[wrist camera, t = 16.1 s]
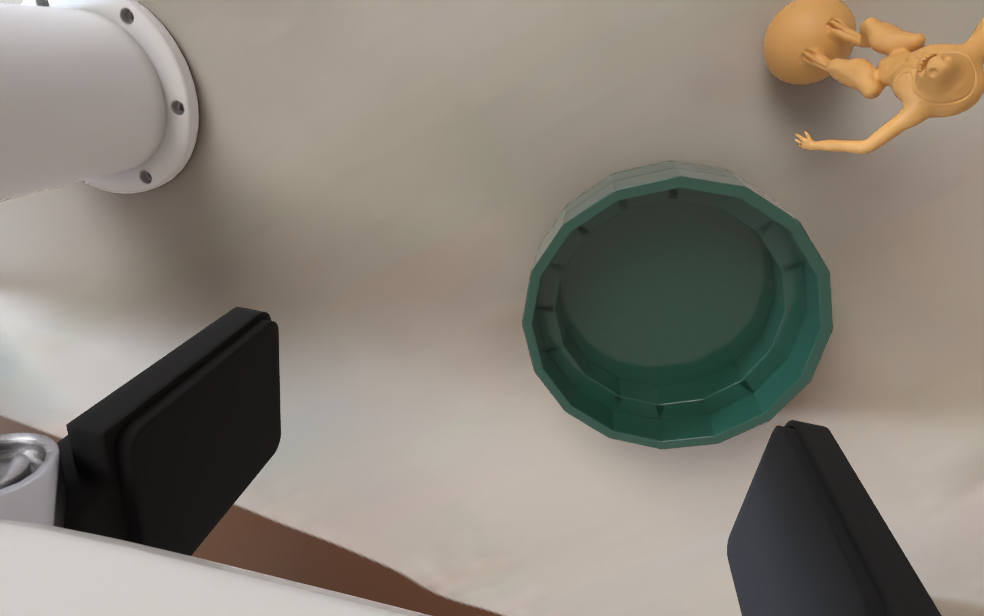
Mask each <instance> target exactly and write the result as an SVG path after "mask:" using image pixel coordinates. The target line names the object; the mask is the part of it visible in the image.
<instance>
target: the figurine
mask: <svg viewBox="0 0 984 616" xmlns="http://www.w3.org/2000/svg"><path fill="white" fill-rule="evenodd" d="M924 44H925V36H924V35H923V34H920V33H911V32H905V31H903V30H901V29H899V28H898V27H896V26H894V25H892V24H890V23H886V22H882V21H880V20H878V19H876V18H874V17H870V18H868V19H866V20H864V21H863V22H862V24H861V26H860V33H858V32H856V24H855V20H854V17H853V14H852V13H851V11H850V9H849V8H848V7H847V6H846V5H845V4H844V3H843V2H842V1H840V0H795V1H793V2H791V3H790V4H788V5H787V6H785V7H784V8H783V9H782V10H781V11H780V12H779V13H778V14H777V15H776V16H775V17H774V18H773V20H772V21H771V23H770V24H769V26H768V28H767V31H766V33H765V36H764V41H763V57H764V60H765V63H766V65H767V67H768V69H769V70H770V72H771V73H772V74H773V75H774V76H775V77H777V78H778V79H780V80H781V81H783V82H786V83H789V84H794V85H806V84H811V83H815V82H818V81H821V80H823V79H825V78H827V77H828V76H830V75H831V77H832V78H833V79H835V80H838V81H839V82H840V83H841V84H843V85H845V86H847V87H850V88H853V89H855V90H857V91H858V92H860V93H861V94H862V95H863V96H864V97H866V98H869V99H873V98H876V97H877V96H879V95H880V93H881V92H882V91H883V89H884V88H885V86H888V85H889V86H890V87H891V88H892V90H893V92H894V94H895V96H896V97H897V98H898V99H899V100H900V101H901V102H902V103H903V107H902V109H901V111H900V112H899V113H898V114H897V115H896V116H895V117H893V118H892V119H891V120H889V121H888V122H887V123H885V124H884V125H883V126H882V127H880V128H879V129H878V130H877V131H875V132H874V133H873V134H872V135H871V136H870V137H869V138H867V139H866V140H863V141H860V140H849V141H845V140H823V141H813V140H812V138H811V136H810V135H809V134H808V133H807V132H806V131H804V133H805V135H806V138H804V137H803V136H800V135H799V134H797V133H796V136H797V137H798V138H800V139H801V141H800V140H797V139H795V141H796V142H797V143H799V144H797V145H798V146H799V147H801V148H803V149H807V150H824V151H837V152H851V153H856V154H866V153H869V152H872V151H874V150H875V149H877V148H879V147H880V146H882V145H884V144H885V143H887V142H888V141H890V140H891V139H893V138H894V137H896V136H897V135H899V134H900V133H901V132H903V131H904V130H906V129H908V128H911V127H913V126H915V125H918V124H919V123H921V122H923V121H924V120H926V119H928V118H932V117H948V116H953V115H956V114H959V113H961V112H964V111H966V110H967V109H969V108H970V107H972V106H973V105H974V104H976V103H977V101H978V100H979V99H980V97H981V96H982V94H983V92H984V71H983V62H984V17H983V18H982V20H981V21H980V23H979V24H978V26H977V27H976V29H975V30H974V32H973V33H972V35H971V37H970V38H969V39H968V40H967V41H966V42H965V43H963V44H932V45H928V46H925V47H923V46H924ZM854 45H856V46H860V47H864V48H866V47H871V48H872V49H873V50H875V51H876V52H878V53H881V54H886V55H889V56H887V57H885V58H883V59H882V60H881V61H880V62H879V65H878V68H875V67H874V66H873V65H872V64H871V63H869V62H868V61H867V60H864V59H861V58H855V59H848V60H846V59H847V58H848V56H849V55H850V53H851V51H852V48H853V46H854ZM800 144H801V145H800Z"/></svg>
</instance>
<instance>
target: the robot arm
mask: <svg viewBox="0 0 984 616" xmlns="http://www.w3.org/2000/svg"><path fill="white" fill-rule="evenodd" d="M198 126H199V112H198V100H197V95H196V90H195V85H194V81H193V79H192V76H191V73H190V70H189V68H188V65H187V62H186V60H185V59H184V57H183V55H182V53H181V51H180V49H179V47H178V45H177V44H176V42H175V41H174V39H173V38H172V37H171V35H170V34H169V33H168V31H167V30H166V28H165V27H164V26H163V24H162V23H161V22H160V21H159V20H158V19H157V18H156V17H155V16H154V15H153V14H152V13H151V12H150V11H149V10H148V9H147V8H145V7H144V6H142V5H141V4H140V3H138V2H137V1H136V0H24V1H23V2H22V4H21V5H18V4H6V3H0V201H4V200H8V199H12V198H16V197H20V196H24V195H28V194H32V193H36V192H40V191H44V190H48V189H52V188H56V187H60V186H64V185H68V184H72V183H76V182H81V181H82V182H84V183H87V184H89V185H91V186H93V187H95V188H98V189H101V190H105V191H108V192H112V193H123V194H131V193H139V192H144V191H148V190H151V189H154V188H157V187H160V186H161V185H163V184H165V183H167V182H169V181H171V180H172V179H173V178H174V177H175V176H176V175H177V174H178V173H179V172H180V171H182V169H183V168H184V166H185V165H186V163H187V162H188V160H189V158H190V157H191V154H192V151H193V149H194V146H195V143H196V139H197V133H198ZM66 426H67V431H68V435H67V436H66V437H65V438H63V439H62V440H60V441H59V442H58V443H56V442H54V441H53V440H52V439H51V438H49V437H46V436H43V435H40V434H35V433H13V434H3V435H0V616H430V615H426V614H422V613H418V612H415V611H410V610H406V609H403V608H398V607H394V606H391V605H387V604H383V603H379V602H375V601H370V600H367V599H362V598H359V597H354V596H351V595H347V594H343V593H339V592H335V591H331V590H326V589H322V588H318V587H314V586H310V585H306V584H302V583H298V582H294V581H290V580H286V579H281V578H277V577H274V576H270V575H265V574H261V573H258V572H253V571H249V570H245V569H241V568H237V567H233V566H229V565H225V564H221V563H217V562H213V561H209V560H205V559H200V558H196V557H192V556H191V555H192V554H193V553H194V551H195V550H196V549H197V548H198V547H199V545H200V544H201V543H202V542H203V540H204V539H205V538H206V537H207V536H208V534H209V533H210V532H211V531H212V529H213V528H214V527H215V526H216V525H217V523H218V522H219V521H220V519H221V518H222V517H223V516H224V515H225V513H226V512H227V511H228V510H229V509H230V507H231V506H232V505H233V504H234V502H235V501H236V500H237V499H238V498H239V496H240V495H241V494H242V493H243V491H244V490H245V489H246V488H247V487H248V485H249V484H250V483H251V482H252V480H253V479H254V478H255V477H256V475H257V474H258V473H259V472H260V471H261V469H262V468H263V467H264V466H265V464H266V463H267V462H268V461H269V460H270V458H271V457H272V456H273V455H274V453H275V452H276V450H277V448H278V445H279V442H280V438H281V420H280V376H279V331H278V325H277V323H276V322H274V321H271V318H270V315H269V314H268V313H267V312H262V311H257V310H253V309H248V308H243V307H236V308H233V309H232V310H231V311H229V312H228V313H226V314H225V315H223V316H222V317H220V318H219V319H218V320H216V321H215V322H213V323H212V324H210V325H209V326H208V327H206V328H205V329H203V330H202V331H200V332H199V333H197V334H196V335H195V336H193V337H192V338H190V339H189V340H187V341H186V342H185V343H183V344H182V345H180V346H179V347H177V348H176V349H174V350H173V351H172V352H170V353H169V354H167V355H166V356H164V357H163V358H162V359H160V360H159V361H157V362H156V363H154V364H153V365H151V366H150V367H149V368H147V369H146V370H144V371H143V372H141V373H140V374H139V375H137V376H136V377H134V378H133V379H131V380H130V381H128V382H127V383H126V384H124V385H123V386H121V387H120V388H118V389H117V390H116V391H114V392H113V393H111V394H110V395H108V396H107V397H106V398H104V399H103V400H101V401H100V402H98V403H97V404H95V405H94V406H93V407H91V408H90V409H88V410H87V411H85V412H84V413H83V414H81V415H80V416H78V417H77V418H75V419H74V420H72V421H71V422H70V423H68V424H67V425H66ZM727 556H728V561H729V565H730V569H731V573H732V577H733V581H734V585H735V589H736V593H737V597H738V601H739V605H740V609H741V613H742V616H941V614H940V612H939V611H938V609H937V607H936V606H935V604H934V602H933V601H932V599H931V598H930V596H929V594H928V593H927V591H926V589H925V588H924V586H923V584H922V583H921V581H920V579H919V578H918V576H917V574H916V573H915V571H914V569H913V568H912V566H911V564H910V563H909V561H908V559H907V558H906V556H905V554H904V553H903V551H902V549H901V548H900V546H899V545H898V543H897V541H896V540H895V538H894V536H893V535H892V533H891V531H890V530H889V528H888V526H887V525H886V523H885V521H884V520H883V518H882V516H881V515H880V513H879V511H878V510H877V508H876V506H875V505H874V503H873V501H872V500H871V498H870V496H869V495H868V493H867V492H866V490H865V488H864V487H863V485H862V483H861V482H860V480H859V478H858V477H857V475H856V473H855V472H854V470H853V468H852V467H851V465H850V463H849V462H848V460H847V458H846V457H845V455H844V453H843V452H842V450H841V448H840V447H839V445H838V443H837V442H836V440H835V439H834V437H833V435H832V434H831V432H830V430H829V429H828V428H827V427H824V426H819V425H814V424H809V423H804V422H799V421H795V420H791V421H788V423H787V424H786V425H785V426H784V427H783V426H776V428H775V429H774V430H773V432H772V434H771V437H770V439H769V442H768V444H767V446H766V449H765V451H764V454H763V456H762V458H761V461H760V463H759V466H758V468H757V471H756V473H755V475H754V478H753V480H752V483H751V485H750V487H749V490H748V492H747V495H746V497H745V500H744V502H743V504H742V507H741V509H740V512H739V514H738V516H737V519H736V521H735V524H734V526H733V529H732V531H731V533H730V536H729V539H728V545H727Z"/></svg>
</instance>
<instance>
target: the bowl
mask: <svg viewBox="0 0 984 616" xmlns="http://www.w3.org/2000/svg"><path fill="white" fill-rule="evenodd" d="M522 326H523V330H524V334H525V337H526V341H527V345H528V349H529V353H530V357H531V361H532V364H533V368H534V371H535V373H536V374H537V376H538V377H539V378H540V380H541V381H542V382H543V383H544V385H545V386H546V387H547V389H548V390H549V391H550V392H551V394H552V395H553V396H554V398H555V399H556V400H557V401H558V403H559V404H560V405H561V407H562V408H563V409H564V410H565V411H566V412H567V413H569V414H570V415H572V416H574V417H575V418H577V419H579V420H580V421H582V422H584V423H585V424H587V425H588V426H590V427H592V428H593V429H595V430H597V431H598V432H600V433H602V434H603V435H605V436H607V437H608V438H612V439H616V440H621V441H626V442H630V443H635V444H640V445H644V446H649V447H654V448H658V449H671V448H680V447H690V446H700V445H710V444H717V443H721V442H723V441H725V440H727V439H729V438H732V437H734V436H736V435H738V434H741V433H743V432H745V431H747V430H750V429H752V428H754V427H756V426H759V425H761V424H763V423H765V422H767V421H769V420H771V419H772V418H773V417H774V416H775V415H776V414H777V413H778V412H779V411H780V410H781V409H782V408H783V407H784V406H785V405H786V404H787V403H788V402H789V401H790V400H792V399H793V398H794V397H795V396H796V395H797V394H798V393H799V392H800V391H801V390H802V389H803V388H804V387H805V386H806V385H807V384H808V383H809V382H810V381H811V379H812V377H813V374H814V372H815V370H816V367H817V365H818V363H819V360H820V358H821V356H822V353H823V351H824V349H825V346H826V344H827V342H828V339H829V337H830V335H831V332H832V328H833V323H832V304H831V285H830V273H829V270H828V268H827V267H826V265H825V263H824V262H823V260H822V258H821V257H820V255H819V253H818V252H817V250H816V248H815V246H814V245H813V243H812V241H811V240H810V238H809V236H808V235H807V233H806V231H805V230H804V228H803V226H802V225H801V223H800V222H799V221H798V220H797V219H796V218H795V217H794V216H792V215H791V214H790V213H789V212H788V211H787V210H785V209H784V208H783V207H782V206H781V205H780V204H778V203H777V202H776V201H775V200H774V199H772V198H770V197H769V196H767V195H766V194H764V193H763V192H761V191H760V190H758V189H757V188H755V187H754V186H752V185H750V184H749V183H747V182H746V181H744V180H743V179H741V178H740V177H738V176H737V175H735V174H734V173H732V172H731V171H728V170H725V169H719V168H713V167H707V166H701V165H695V164H689V163H683V162H677V161H666V162H662V163H657V164H653V165H648V166H644V167H639V168H635V169H630V170H626V171H622V172H617V173H614V174H612V175H610V176H609V177H607V178H606V179H604V180H603V181H601V182H600V183H598V184H597V185H595V186H594V187H592V188H591V189H590V190H588V191H587V192H585V193H584V194H582V195H581V196H579V197H578V198H576V199H575V200H573V201H572V202H570V203H569V204H568V205H567V206H566V207H565V209H564V210H563V212H562V213H561V215H560V216H559V218H558V219H557V221H556V222H555V224H554V225H553V227H552V228H551V230H550V231H549V233H548V234H547V236H546V237H545V239H544V240H543V242H542V243H541V245H540V246H539V249H538V252H537V255H536V258H535V261H534V264H533V267H532V271H531V274H530V280H529V285H528V291H527V297H526V303H525V308H524V314H523V320H522Z"/></svg>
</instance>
